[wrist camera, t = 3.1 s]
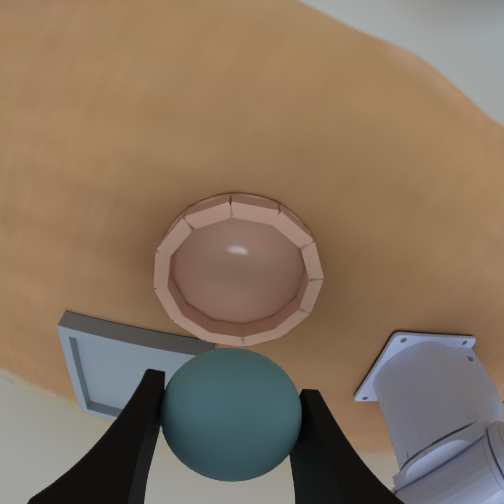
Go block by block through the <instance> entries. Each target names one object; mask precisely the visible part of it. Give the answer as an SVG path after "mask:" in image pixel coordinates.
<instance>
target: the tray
mask: <svg viewBox="0 0 504 504" xmlns="http://www.w3.org/2000/svg"><path fill="white" fill-rule="evenodd" d="M57 326H58V331H59V335H60V340H61V344H62V348H63V352H64V356H65V360H66V364H67V367H68V371H69V374H70V378H71V381H72V385H73V388H74V391H75V394H76V398H77V401H78V404H79V407H80V410H81V412H85V413H88V414H92V415H95V416H99V417H102V418H106V419H110V420H114V421H115V420H116V419H117V417H118V416H119V414H120V413H121V412H122V410H123V409H124V407H125V406H126V404H127V403H128V401H129V400H130V398H131V397H132V395H133V393H134V392H135V390H136V388H137V387H138V385H139V383H140V381H141V379H142V377H143V375H144V373H145V371H146V370H147V369H149V368H150V369H154V370H160V371H165V388H166V386H167V384H168V382H169V381H170V379H171V378H172V376H173V375H174V373H175V372H176V371H177V370H178V369H179V368H180V367H181V366H182V365H183V364H185V363H186V362H187V361H189V360H190V359H192V358H193V357H195V356H197V355H199V354H202V353H204V352H207V351H211V350H214V343H213V342H206V340H204V341H203V340H201V339H195V338H189V337H183V336H177V335H172V334H166V333H161V332H156V331H151V330H146V329H141V328H136V327H131V326H126V325H122V324H117V323H113V322H108V321H104V320H100V319H96V318H91V317H87V316H83V315H79V314H75V313H71V312H67V311H66V312H65V314H64V315H63V317H62V318H61V320H60V322H59V323H58V325H57ZM160 431H162V427H160Z"/></svg>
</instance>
